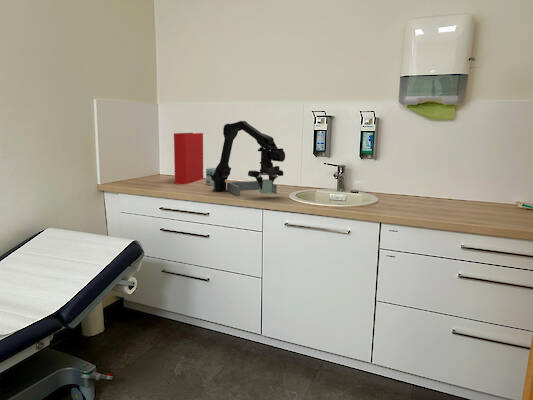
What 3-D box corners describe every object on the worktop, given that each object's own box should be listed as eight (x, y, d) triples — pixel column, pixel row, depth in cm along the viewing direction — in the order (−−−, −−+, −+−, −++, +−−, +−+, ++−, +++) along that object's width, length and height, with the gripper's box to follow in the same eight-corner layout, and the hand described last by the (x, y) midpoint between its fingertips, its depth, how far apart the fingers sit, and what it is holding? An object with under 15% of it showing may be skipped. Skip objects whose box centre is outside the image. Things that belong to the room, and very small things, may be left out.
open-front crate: (237, 195, 216) (238, 186, 215) (227, 190, 231) (227, 182, 230) (276, 193, 226) (276, 184, 225) (263, 188, 241) (263, 180, 240)
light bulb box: (213, 186, 246) (213, 169, 244) (205, 185, 250) (205, 168, 248) (224, 184, 254) (224, 167, 252) (217, 183, 258) (217, 166, 256)
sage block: (263, 193, 208) (263, 180, 207) (259, 192, 213) (259, 179, 211) (271, 193, 211) (272, 180, 209) (267, 191, 215) (267, 179, 214)
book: (192, 178, 278) (192, 132, 271) (203, 179, 275) (202, 133, 269) (173, 183, 252) (172, 133, 246) (185, 184, 250) (184, 133, 243)
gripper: (256, 162, 197) (256, 192, 200) (288, 161, 205) (287, 190, 208) (247, 160, 207) (247, 189, 210) (278, 159, 215) (278, 187, 218)
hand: (265, 189), depth 211 cm, fingers closed on sage block, 5 cm apart
